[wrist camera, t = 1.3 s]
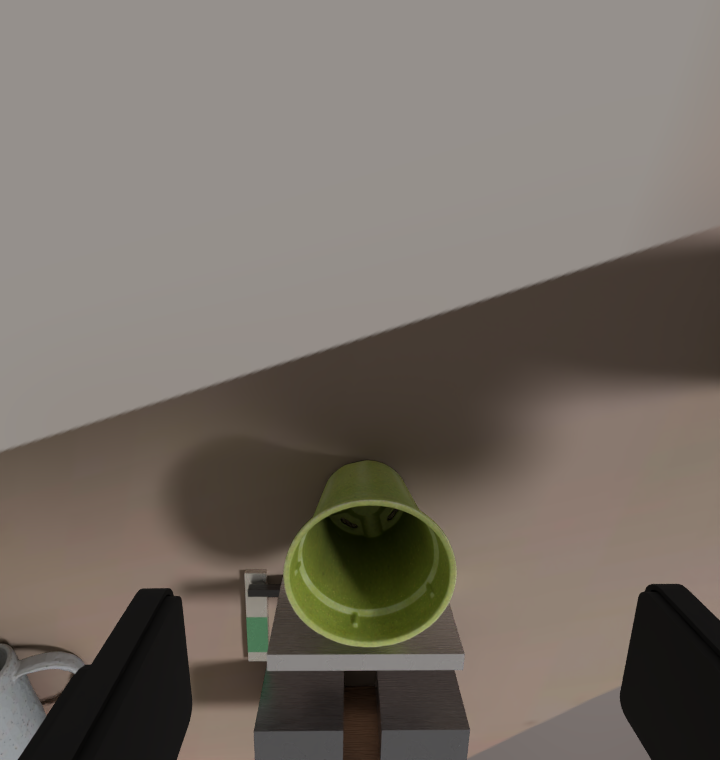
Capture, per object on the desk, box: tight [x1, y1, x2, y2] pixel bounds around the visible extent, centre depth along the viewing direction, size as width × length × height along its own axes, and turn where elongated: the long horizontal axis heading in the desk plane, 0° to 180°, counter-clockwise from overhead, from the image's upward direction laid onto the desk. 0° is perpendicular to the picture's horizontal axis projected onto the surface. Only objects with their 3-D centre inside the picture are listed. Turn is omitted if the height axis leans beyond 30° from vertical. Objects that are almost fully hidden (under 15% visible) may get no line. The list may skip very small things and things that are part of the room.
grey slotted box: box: [244, 570, 470, 760], centre depth 33 cm, size 12×16×6 cm
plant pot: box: [283, 460, 456, 647], centre depth 29 cm, size 9×9×9 cm
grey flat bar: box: [248, 578, 465, 671], centre depth 32 cm, size 4×14×7 cm, turn 89°
